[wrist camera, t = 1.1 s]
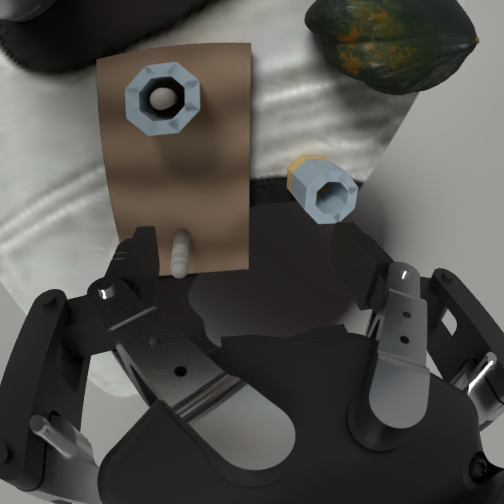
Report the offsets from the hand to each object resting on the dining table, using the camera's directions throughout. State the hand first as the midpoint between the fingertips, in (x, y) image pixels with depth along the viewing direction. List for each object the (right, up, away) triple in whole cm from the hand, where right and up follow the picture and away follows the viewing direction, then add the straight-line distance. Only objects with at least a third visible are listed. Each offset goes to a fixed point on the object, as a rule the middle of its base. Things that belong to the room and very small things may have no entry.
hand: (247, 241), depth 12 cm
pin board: (-7, +8, +14) cm, 18 cm away
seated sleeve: (-7, +13, +9) cm, 17 cm away
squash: (+12, +23, +9) cm, 28 cm away
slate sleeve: (+6, +8, +17) cm, 20 cm away
